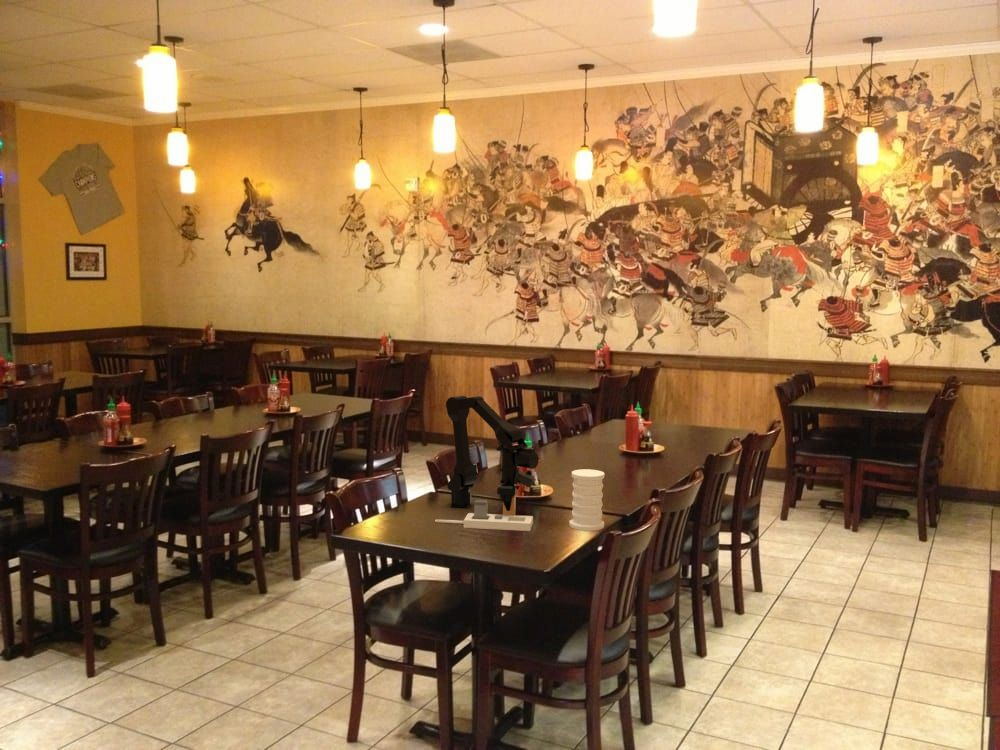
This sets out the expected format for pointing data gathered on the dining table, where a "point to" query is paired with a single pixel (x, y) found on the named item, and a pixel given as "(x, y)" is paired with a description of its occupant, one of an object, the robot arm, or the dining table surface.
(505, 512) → the plug
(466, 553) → the dining table surface
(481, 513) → the twin plug
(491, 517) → the power strip
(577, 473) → the decorative container
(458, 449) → the robot arm
